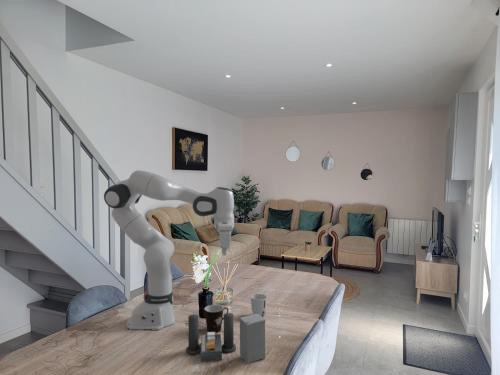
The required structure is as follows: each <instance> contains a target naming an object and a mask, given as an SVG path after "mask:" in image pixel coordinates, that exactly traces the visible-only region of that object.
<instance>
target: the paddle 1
mask: <svg viewBox="0 0 500 375" xmlns="http://www.w3.org/2000/svg"><path fill="white" fill-rule="evenodd" d="M215 334H216V333H215V332H208V331H207V334H206V335H207V337H214V336H215Z"/></svg>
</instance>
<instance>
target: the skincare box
mask: <svg viewBox="0 0 500 375" xmlns="http://www.w3.org/2000/svg"><path fill="white" fill-rule="evenodd" d="M239 356H240V358H241V359H243V361H244V362H245V363H246V364H251V363H254V362H257V361H260V360H262V359H265V358H266V319H265V318H264V317H261V316H260V315H259V314H258V313H257V314H253V313H252V314H249V315H245V316H242V317H240V318H239Z"/></svg>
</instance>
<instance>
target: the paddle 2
mask: <svg viewBox="0 0 500 375" xmlns="http://www.w3.org/2000/svg"><path fill="white" fill-rule="evenodd" d="M206 346H207V350H208V349H212V348H215V343H214V341H211V342H207V343H206Z"/></svg>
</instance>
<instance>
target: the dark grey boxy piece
mask: <svg viewBox="0 0 500 375" xmlns="http://www.w3.org/2000/svg"><path fill="white" fill-rule="evenodd" d="M206 343H207V334H201V339H200V347H201V352H200V362H201V363H202V362H213V361H214V362H216V361H217V362H218V361H223V351H222V345H223V344H222V334H221V333H215V348H212V349H208V350H207V346H206Z"/></svg>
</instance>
